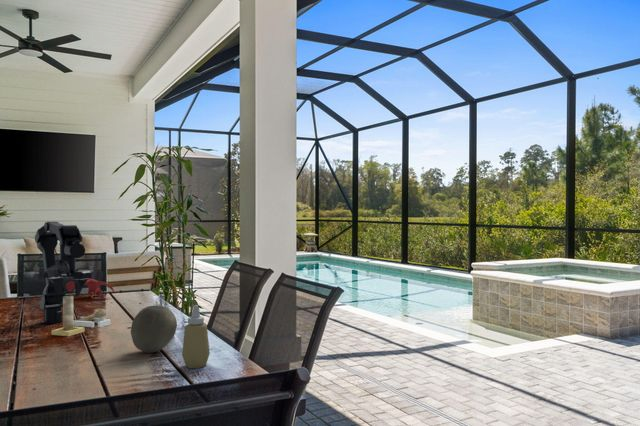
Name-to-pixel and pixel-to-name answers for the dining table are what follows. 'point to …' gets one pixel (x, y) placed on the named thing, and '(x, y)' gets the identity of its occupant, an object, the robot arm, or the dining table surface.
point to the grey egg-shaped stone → (153, 328)
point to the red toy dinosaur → (90, 286)
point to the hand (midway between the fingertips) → (67, 296)
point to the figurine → (93, 316)
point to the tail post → (68, 313)
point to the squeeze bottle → (195, 341)
